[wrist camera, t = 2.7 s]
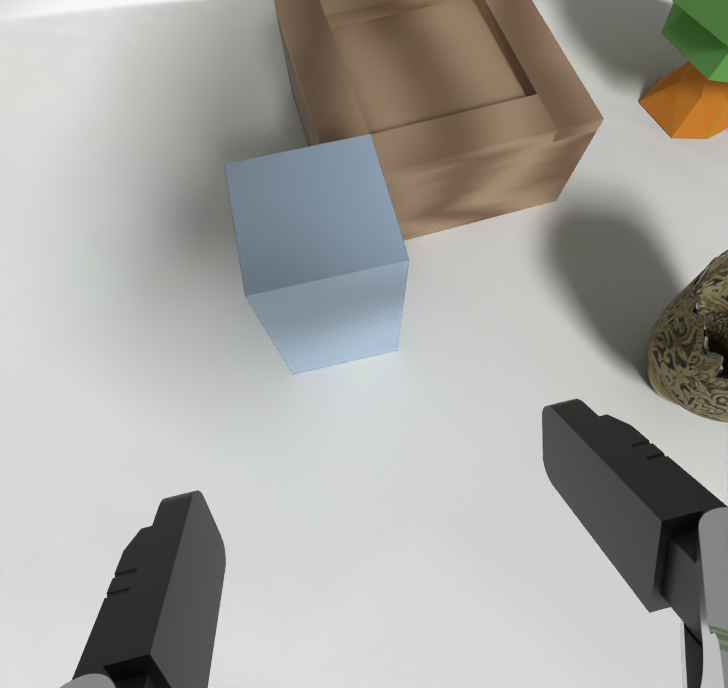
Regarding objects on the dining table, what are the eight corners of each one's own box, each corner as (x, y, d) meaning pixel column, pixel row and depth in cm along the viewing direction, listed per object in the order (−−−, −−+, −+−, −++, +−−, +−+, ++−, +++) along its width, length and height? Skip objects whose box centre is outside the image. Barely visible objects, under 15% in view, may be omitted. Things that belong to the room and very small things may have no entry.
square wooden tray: (476, 52, 34) (499, -53, 28) (554, 203, 29) (603, 118, 23) (292, 95, 33) (273, -4, 27) (343, 258, 28) (334, 186, 22)
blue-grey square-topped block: (372, 260, 28) (370, 134, 19) (397, 350, 26) (409, 260, 17) (275, 281, 28) (223, 163, 18) (292, 374, 26) (245, 296, 16)
